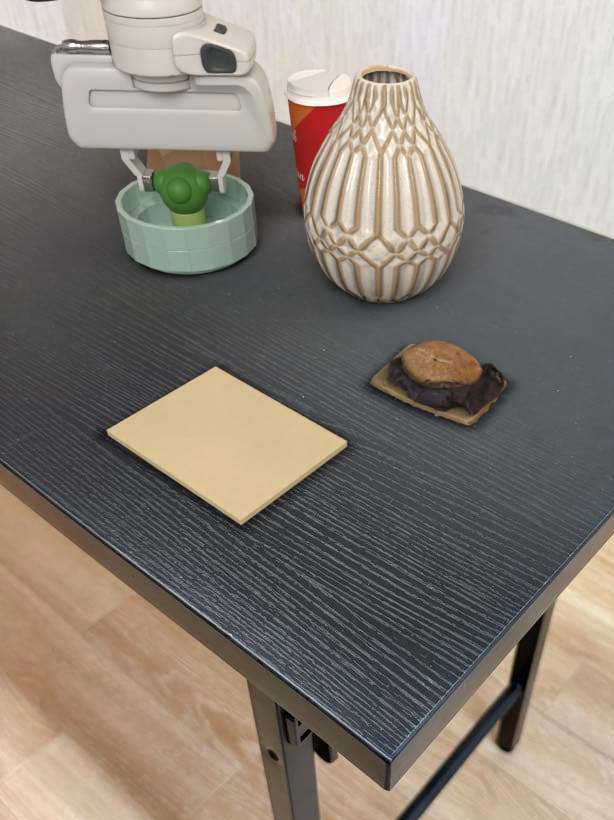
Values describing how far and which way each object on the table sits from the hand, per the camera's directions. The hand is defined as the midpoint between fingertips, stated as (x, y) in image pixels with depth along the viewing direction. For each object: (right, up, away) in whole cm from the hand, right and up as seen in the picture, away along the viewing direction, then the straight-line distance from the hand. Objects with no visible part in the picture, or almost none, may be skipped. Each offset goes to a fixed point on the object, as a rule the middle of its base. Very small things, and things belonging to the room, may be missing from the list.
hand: (184, 190), depth 85 cm
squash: (-4, +8, +16) cm, 18 cm away
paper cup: (+14, +3, +12) cm, 18 cm away
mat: (+8, -28, -18) cm, 34 cm away
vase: (+21, -10, +1) cm, 23 cm away
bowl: (0, -4, +5) cm, 6 cm away
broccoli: (0, -4, +4) cm, 5 cm away
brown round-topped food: (+26, -23, -11) cm, 37 cm away
